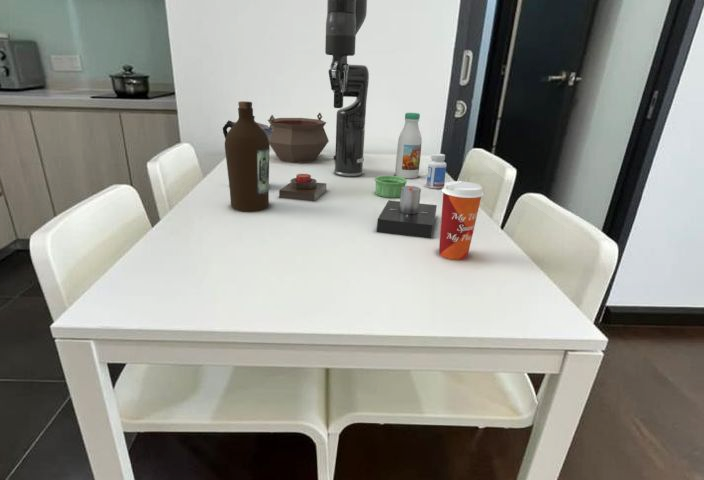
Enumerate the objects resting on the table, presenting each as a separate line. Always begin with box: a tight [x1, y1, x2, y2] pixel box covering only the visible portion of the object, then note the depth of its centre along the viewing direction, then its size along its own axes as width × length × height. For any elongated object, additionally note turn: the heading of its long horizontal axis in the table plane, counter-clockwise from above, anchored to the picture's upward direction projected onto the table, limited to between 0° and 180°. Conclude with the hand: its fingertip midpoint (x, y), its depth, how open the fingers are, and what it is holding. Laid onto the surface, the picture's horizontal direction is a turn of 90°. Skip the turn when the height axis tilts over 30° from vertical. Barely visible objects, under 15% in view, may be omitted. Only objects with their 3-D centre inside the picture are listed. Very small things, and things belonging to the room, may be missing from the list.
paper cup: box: [438, 180, 485, 261], centre depth 90 cm, size 8×8×14 cm
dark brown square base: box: [278, 177, 327, 202], centre depth 129 cm, size 12×10×4 cm
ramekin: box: [374, 175, 408, 199], centre depth 132 cm, size 9×9×4 cm
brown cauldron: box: [267, 112, 330, 164], centre depth 172 cm, size 24×24×16 cm
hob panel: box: [376, 199, 438, 239], centre depth 109 cm, size 16×12×3 cm
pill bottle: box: [425, 153, 447, 190], centre depth 141 cm, size 6×5×10 cm
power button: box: [295, 173, 312, 182], centre depth 128 cm, size 4×4×2 cm
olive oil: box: [224, 100, 271, 212], centre depth 113 cm, size 11×11×25 cm
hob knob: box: [399, 185, 422, 214], centre depth 107 cm, size 4×4×6 cm
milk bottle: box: [394, 112, 423, 179], centre depth 150 cm, size 8×8×20 cm
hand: (338, 107), depth 123 cm, fingers closed
